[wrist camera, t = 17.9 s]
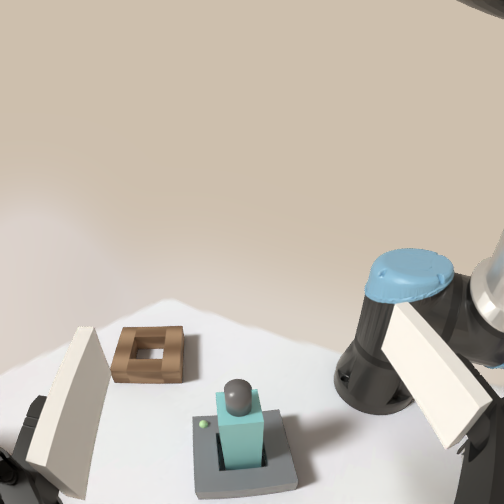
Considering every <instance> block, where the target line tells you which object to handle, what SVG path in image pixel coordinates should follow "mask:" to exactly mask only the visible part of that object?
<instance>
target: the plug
mask: <svg viewBox="0 0 504 504" xmlns="http://www.w3.org/2000/svg"><path fill="white" fill-rule="evenodd" d="M216 403H217V415H218V426H219V433H220V439H221V445H222V451H223V457H224V462H225V468H226V471H228V470H240V469H250V468H259V467H261V459H262V444H263V429H264V419H263V415H262V410H261V405H260V400H259V396H258V391H257V389H254V390H252V387H251V385H250V384H249V383H248V382H247V381H245V380H242V379H234V380H231V381H229V382H228V383H227V384H226V385H225V387H224V392H218V393H216Z"/></svg>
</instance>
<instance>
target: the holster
mask: <svg viewBox="0 0 504 504" xmlns="http://www.w3.org/2000/svg"><path fill="white" fill-rule="evenodd" d="M138 349H164V352H163V359H136V356H137V351H138ZM183 353H184V333H183V326H165V327H123V329H122V332H121V335H120V338H119V341H118V344H117V348H116V351H115V354H114V357H113V361H112V364H111V368H110V370H111V375H112V378H113V380H114V382H115V383H182V373H183Z"/></svg>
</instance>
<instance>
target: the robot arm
mask: <svg viewBox="0 0 504 504" xmlns="http://www.w3.org/2000/svg"><path fill="white" fill-rule="evenodd" d="M457 1H459V2H461V3H464V4H466V5H468V6H470V7H472V8H475V9H477V10H480V11H482V12H485V13H487V14H490V15H493V16H495V17H498V18H501V19H504V0H457ZM472 363H476V364H479V365H483V366H485V367H487V368H491V369H494V368H496V369H497V368H500V369H504V230H503V233H502V235H501V237H500V240H499V242H498V244H497V247H496V249H495V251H494V253H493V256H492V257H490V258H487V259H484V260H483V261H481V262H480V263H479V264H478V265H477V266H476V267H475V269H474V271H473V273H472V275H471V277H470V276H466V275H462V274H458V273H454V269H453V264H452V263H451V261H450V260H449V259H447V258H446V257H445V256H443V255H438V254H437V253H436V252H432V251H429V250H423V249H413V248H409V249H408V248H407V249H397V250H393V251H389V252H386V253H384V254H382V255H381V256H379V257H378V258H377V259H376V260H375V261H374V263H373V265H372V267H371V271H370V275H369V279H368V282H367V283H366V285H365V297H364V302H363V307H362V311H361V315H360V319H359V323H358V327H357V331H356V335H355V339H354V340H353V341H352V343H351V344H350V346H349V347H348V348H347V349H346V351H345V352H344V353H343V355H342V356H341V357H340V359H339V361H338V363H337V366H336V370H335V374H334V384H335V388H336V390H337V392H338V394H339V395H340V397H341V398H342V399H343V400H344V401H345V402H346V403H347V404H348V405H350V406H351V407H353V408H355V409H357V410H359V411H361V412H364V413H368V414H373V415H387V414H392V413H395V412H398V411H400V410H402V409H403V408H405V407H406V406H407V405H408V404H409V403H410V402H411V401H412V399H413V398H414V399H415V401H416V402H417V404H418V406H419V407H420V409H421V410H422V412H423V413H424V415H425V417H426V418H427V420H428V422H429V423H430V425H431V426H432V428H433V430H434V431H435V433H436V435H437V436H438V438H439V440H440V441H441V443H442V445H443V446H444V448H445V450H446V449H448V448H450V447H452V446H454V445H455V444H457V443H459V442H460V441H461V440H462V438H463V437H464V436H465V435H467V436H468V440H467V441H466V442H465V443H464V444H463V445H462V446H461V447H460V448H459V449H458V452H457V454H460V452H461V451H462V450H463V449H464V448H465V451H464V452H463V453H462V455H464V457H463V464H462V469H461V475H460V480H459V485H458V489H457V494H456V498H455V502H454V504H504V397H503V398H500V397H499V396H498V395H497V394H496V392H495V391H494V390H493V389H492V387H491V386H490V385H489V384H488V382H487V381H486V380H485V379H484V378H483V376H482V375H480V373H479V372H478V370H477V369H475V368H474V366H473V365H472ZM110 377H111V370H110V368H109V365H108V363H107V360H106V358H105V355H104V353H103V350H102V347H101V345H100V342H99V339H98V336H97V334H96V331H95V328H94V327H78V329H77V331H76V333H75V335H74V337H73V339H72V341H71V343H70V346H69V348H68V350H67V352H66V354H65V356H64V359H63V361H62V363H61V365H60V368H59V370H58V372H57V375H56V377H55V379H54V382H53V384H52V387H51V389H50V391H49V394H48V397H46V396H40V395H39V396H38V397H37V398H36V399H35V400H34V401H33V402H32V404H31V405H30V407H29V410H28V412H27V415H26V416H27V417H25V420H24V423H23V426H22V428H21V431H20V434H19V436H18V439H17V442H16V445H15V448H14V451H13V454H12V456H11V455H10V454H9V453H8V452H7V451H5V450H4V449H3V448H1V447H0V504H63V503H62V501H61V499H60V498H59V497H58V493H59V490H60V491H61V492H62V493H63V494H65V495H66V496H69V497H73V498H77V499H81V500H85V498H86V490H87V484H88V477H89V471H90V466H91V460H92V455H93V450H94V444H95V440H96V435H97V430H98V426H99V421H100V417H101V412H102V408H103V404H104V400H105V396H106V392H107V388H108V384H109V381H110Z"/></svg>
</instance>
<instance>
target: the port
mask: <svg viewBox="0 0 504 504" xmlns="http://www.w3.org/2000/svg"><path fill="white" fill-rule="evenodd" d="M262 415H263V419H264V429H263V444H262V449H263V454H264V459H265V464H266V467H259V468H250V469H240V470H228V471H220V465H219V455H218V444H217V443H221V439H220V433H219V426H218V415H217V416H196V417H193V456H194V480H195V493H196V495H197V497H198V499H224V498H238V497H249V496H258V495H265V494H273V493H279V492H285V491H291V490H296V487H297V485H298V478H297V475H296V471H295V467H294V464H293V460H292V456H291V452H290V449H289V445H288V441H287V437H286V434H285V430H284V426H283V422H282V419H281V415H280V411H279V409H278V410H271V411H262Z"/></svg>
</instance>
